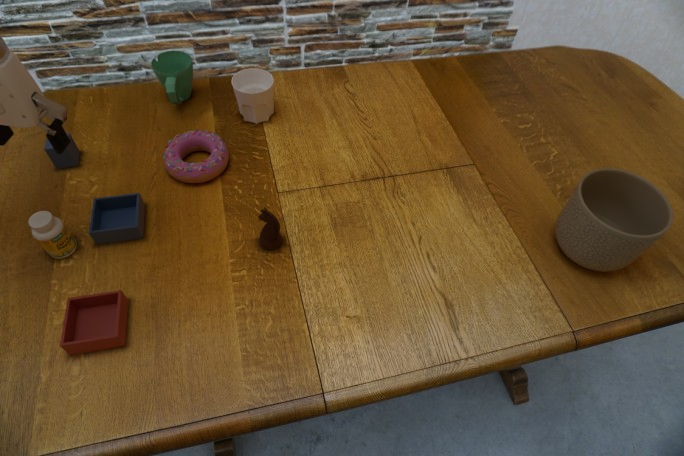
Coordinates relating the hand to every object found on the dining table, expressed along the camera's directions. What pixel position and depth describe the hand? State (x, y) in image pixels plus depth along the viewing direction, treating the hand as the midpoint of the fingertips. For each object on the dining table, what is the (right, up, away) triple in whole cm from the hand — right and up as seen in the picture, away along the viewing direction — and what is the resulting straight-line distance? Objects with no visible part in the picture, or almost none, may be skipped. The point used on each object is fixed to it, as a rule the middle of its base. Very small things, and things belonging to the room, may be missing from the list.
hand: (35, 143), depth 74 cm
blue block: (-13, +2, +31) cm, 34 cm away
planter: (+101, -18, +23) cm, 106 cm away
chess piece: (+35, -17, +20) cm, 44 cm away
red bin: (+7, -31, +8) cm, 33 cm away
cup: (+28, +16, +44) cm, 54 cm away
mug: (+7, +19, +46) cm, 50 cm away
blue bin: (+4, -13, +21) cm, 25 cm away
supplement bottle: (-6, -18, +17) cm, 25 cm away
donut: (+16, +1, +33) cm, 36 cm away
